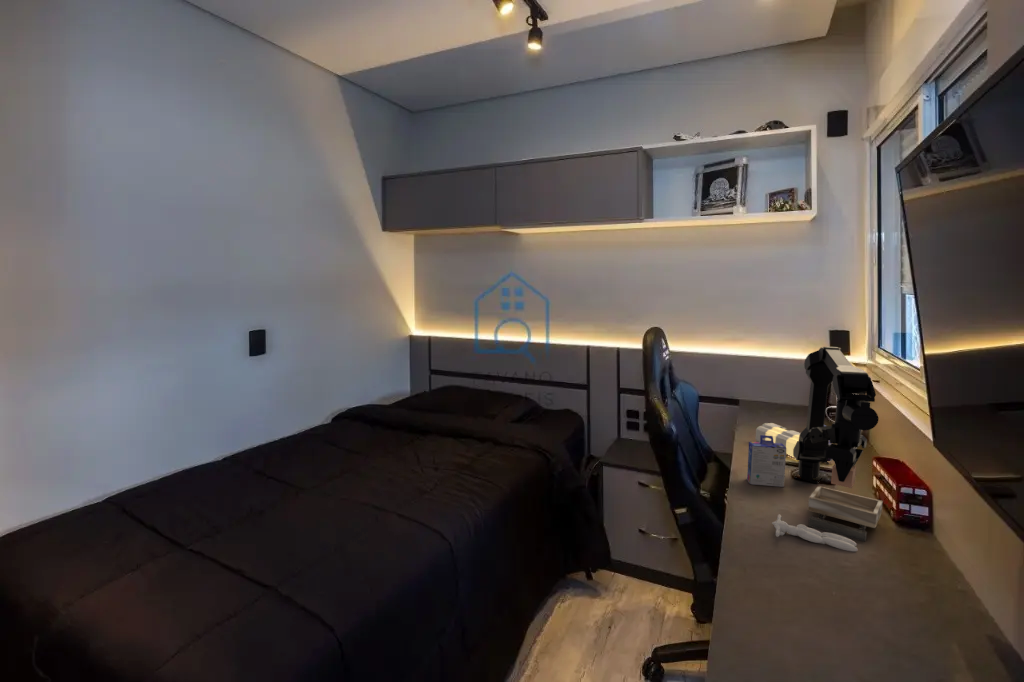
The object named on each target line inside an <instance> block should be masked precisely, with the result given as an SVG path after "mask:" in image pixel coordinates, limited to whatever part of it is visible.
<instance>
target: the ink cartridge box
mask: <svg viewBox="0 0 1024 682" xmlns="http://www.w3.org/2000/svg"><path fill="white" fill-rule="evenodd" d="M763 438H769V439H771V441H768V440H762V439H763ZM747 454H748V455H747V473H746V474H747V475H746V480H747V482H748V483H749V484H750V485H757V486H769V487H778V488H779V487H781V488H783V487H785V474H786V459H787V456H786V447H785V446H784V445H783V444H782V443H774V442H773V436H765V435H760V442H757V441H748V453H747Z"/></svg>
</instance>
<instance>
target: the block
mask: <svg viewBox="0 0 1024 682" xmlns="http://www.w3.org/2000/svg"><path fill="white" fill-rule="evenodd" d="M831 469H832V470H831V478H830V479H831V481H830V484H831V485H834V486H835V485H836V486H840V487H844V488H849V489H853V486H854V485H855V484H856V474H857V466H856V465H854V466H853V467H852V468H851V470H850V472H849V474H848V475H847V477H846V479H845V481H844V482H841V481H839V479H838V475H837V470H836V465H835V463H834V464H833V465H832V468H831Z"/></svg>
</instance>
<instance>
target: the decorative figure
mask: <svg viewBox="0 0 1024 682" xmlns="http://www.w3.org/2000/svg"><path fill="white" fill-rule="evenodd" d="M771 524H772V525H773V526H774V529H775V536H776V537H780V536H784V535H785V534H789V535H790V536H797V537H799V538H801V539H803V540H806V541H809V542H811V543H815V544H821V545H825V544H826V545H828V546H830V547H833V548H837V549H839V550H841V551H842V550H843V551H846V552H853V553H854V552H858V550H859V549H858V547H857V545H858V543H856V542H855V541H854V540H852V538H851V539H850V538H849V537H847V536H843V535H840V534H836V533H833V532H828V531H826V532H825V531H824V532H821V531H819V530H817V529H816V528H813V527H812V528H811V527H810V526H809V527H808V526H806V525H805V524H800V523H799V524H797V525H796V526H795V525H792V524H788V523H787V522H786V521H784V520H782V515H781V514H777V518H776V520H775V521H772V522H771Z"/></svg>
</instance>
